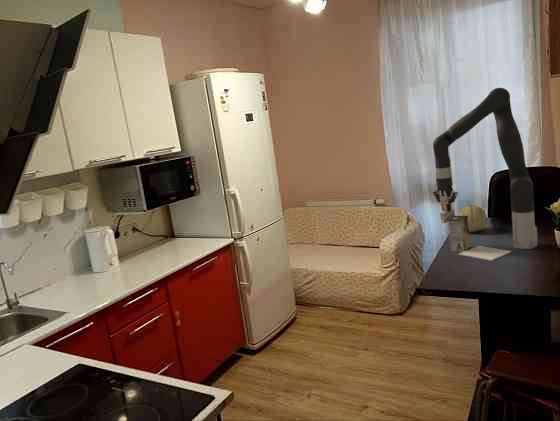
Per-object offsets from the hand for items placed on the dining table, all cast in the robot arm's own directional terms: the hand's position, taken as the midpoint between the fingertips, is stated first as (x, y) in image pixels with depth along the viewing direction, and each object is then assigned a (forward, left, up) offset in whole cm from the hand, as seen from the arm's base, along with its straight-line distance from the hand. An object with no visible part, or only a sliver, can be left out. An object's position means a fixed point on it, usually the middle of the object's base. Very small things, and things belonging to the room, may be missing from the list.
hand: (446, 210), depth 227 cm
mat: (-20, 0, -19) cm, 27 cm away
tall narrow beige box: (0, -1, -5) cm, 5 cm away
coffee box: (-7, 0, -19) cm, 20 cm away
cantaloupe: (+8, -30, -19) cm, 36 cm away
